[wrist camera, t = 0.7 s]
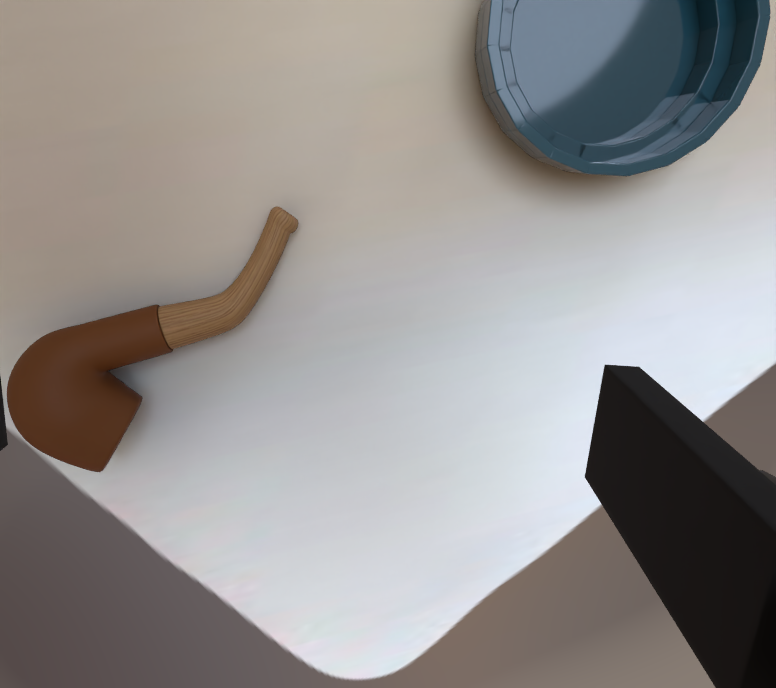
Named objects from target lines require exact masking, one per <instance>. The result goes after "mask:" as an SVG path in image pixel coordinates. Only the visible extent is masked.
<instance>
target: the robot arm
mask: <svg viewBox="0 0 776 688" xmlns="http://www.w3.org/2000/svg"><path fill="white" fill-rule="evenodd" d="M7 445H8V443H7V433H6V424H5V415H4V405H3V396H2V387H1V378H0V451H1V450H2V449H3V448H4V447H5V446H7ZM585 478H586V480H587V481H588V483H589V485H590V486H591V488H592V489H593V491H594V493H595V494H596V496H597V497H598V499H599V501H600V502H601V504H602V505H603V507H604V509H605V510H606V512H607V513H608V515H609V517H610V518H611V520H612V522H613V523H614V525H615V526H616V528H617V529H618V531H619V533H620V534H621V536H622V538H623V539H624V541H625V542H626V544H627V546H628V547H629V549H630V550H631V552H632V553H633V555H634V557H635V558H636V560H637V562H638V563H639V564H640V567H641V568H642V570H643V571H644V573H645V574H646V576H647V578H648V579H649V581H650V583H651V584H652V586H653V587H654V589H655V590H656V592H657V594H658V595H659V597H660V599H661V600H662V602H663V604H664V605H665V607H666V608H667V610H668V611H669V613H670V615H671V616H672V618H673V620H674V621H675V622H676V624H677V626H678V628H679V629H680V631H681V632H682V634H683V636H684V637H685V639H686V641H687V642H688V644H689V645H690V647H691V649H692V650H693V652H694V653H695V655H696V657H697V658H698V660H699V661H700V663H701V665H702V666H703V668H704V670H705V671H706V673H707V674H708V676H709V678H710V679H711V681H712V682H713V684H714V686H715V687H716V688H776V477H775V476H773V475H771V474H769V473H767V472H765V471H763V470H758V469H757V468H756V467H755V466H753V465H752V464H751V463H750V462H748V460H746V459H745V458H744V457H743V456H742V455H740V454H739V453H738V452H737V451H736V450H735V449H734V448H733V447H731V446H730V445H729V444H728V443H727V442H726V441H724V440H723V439H722V438H721V437H720V436H718V435H717V434H716V433H715V432H714V431H713V430H712V429H710V428H709V427H708V426H707V425H706V424H705V423H704V422H702V421H701V420H700V419H699V418H698V417H697V416H695V415H694V414H693V413H692V412H691V411H690V410H688V409H687V408H686V407H685V406H684V405H683V404H681V403H680V402H679V401H678V400H677V399H676V398H675V397H673V396H672V395H671V394H670V393H669V392H668V391H666V390H665V389H664V388H663V387H662V386H661V385H659V384H658V383H657V382H656V381H655V380H654V379H652V378H651V377H650V376H649V375H648V374H647V373H646V372H644V371H643V370H642V369H641V368H640V367H633V366H617V365H605V366H604V372H603V378H602V383H601V389H600V394H599V400H598V406H597V411H596V417H595V423H594V428H593V434H592V439H591V445H590V451H589V456H588V462H587V467H586V473H585Z"/></svg>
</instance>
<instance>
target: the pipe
mask: <svg viewBox="0 0 776 688" xmlns="http://www.w3.org/2000/svg"><path fill="white" fill-rule="evenodd" d="M297 227H298V220H297V219H296V218H294V217H293V216H292V215H290V214H289V213H288V212H286V211H285V210H283V209H282V208H280V207H274V208H273V209H272V210H271V211H270V214H269V217H268V220H267V223H266V225H265V227H264V230H263V232H262V234H261V237H260V239H259V241H258V243H257V245H256V247H255V250H254V252H253V253H252V255H251V257H250V259H249V261H248V263H247V264H246V266H245V267H244V269H243V271H242V272H241V273H240V275H239V276H238V278H237V279H236V280H235V281H234V282H233V284H232V285H231V286H230V287H229V288H227V289H226V290H225V291H224V292H222V293H221V294H218V295H216V296H212V297H208V298H203V299H198V300H193V301H188V302H182V303H176V304H170V305H165V306H159V305H153V306H149V307H145V308H141V309H137V310H134V311H130V312H126V313H122V314H118V315H115V316H111V317H107V318H103V319H99V320H96V321H92V322H88V323H84V324H80V325H76V326H72V327H67V328H63V329H60V330H57V331H54V332H51V333H49V334H47V335H45V336H43V337H41V338H40V339H38V340H37V341H36V342H34V343H33V344H32V345H31V346H30V347H29V348H28V349H27V350H26V351H25V352H24V353H23V354H22V356H21V357H20V358H19V360H18V361H17V363H16V364H15V366H14V368H13V370H12V372H11V375H10V377H9V381H8V386H7V403H8V408H9V412H10V415H11V418H12V420H13V423H14V425H15V426H16V428H17V430H18V431H19V433H20V434H21V435H22V436H23V438H24V439H25V440H26V441H27V442H29V443H30V444H31V445H32V446H34V447H35V448H37V449H38V450H40V451H41V452H43V453H45V454H47V455H49V456H51V457H53V458H55V459H58V460H60V461H63V462H65V463H68V464H71V465H74V466H77V467H80V468H83V469H86V470H90V471H94V472H101V471H103V470H104V468H105V467H106V465H107V463H108V462H109V460H110V458H111V457H112V455H113V453H114V451H115V450H116V448H117V446H118V444H119V443H120V441H121V439H122V437H123V435H124V434H125V432H126V430H127V428H128V426H129V425H130V423H131V421H132V419H133V417H134V416H135V414H136V412H137V410H138V408H139V406H140V404H141V402H142V397H141V396H140V395H139V394H137V393H136V392H135V391H133V390H132V389H130V388H129V387H128V386H126V385H125V384H124V383H123V382H121V381H120V380H119V379H117V378H116V377H115V376H113V375H112V374H111V373H110V372H109V371H108V370H111V369H115V368H118V367H122V366H125V365H129V364H132V363H136V362H139V361H143V360H146V359H150V358H153V357H157V356H160V355H164V354H167V353H170V352H172V351H173V349H175V348H179V347H182V346H185V345H188V344H192V343H195V342H198V341H201V340H204V339H207V338H210V337H213V336H216V335H219V334H222V333H224V332H227V331H229V330H231V329H233V328H234V327H236V326H237V325H239V324H240V323H241V322H242V321H243V320H244V319H245V318H246V316H247V315H248V314H249V313H250V311H251V310H252V308H253V307H254V305H255V304H256V302H257V301H258V299H259V297H260V296H261V294H262V292H263V290H264V289H265V287H266V285H267V283H268V281H269V280H270V278H271V276H272V274H273V272H274V270H275V268H276V266H277V264H278V261H279V259H280V257H281V255H282V253H283V250H284V248H285V246H286V243H287V241H288V238H289V236H290V233H293V232H294V231H295V230H296V229H297Z"/></svg>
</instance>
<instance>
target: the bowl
mask: <svg viewBox="0 0 776 688" xmlns="http://www.w3.org/2000/svg"><path fill="white" fill-rule="evenodd" d="M769 15H770V3H769V0H483V3H482V5H481V8H480V10H479V14H478V26H477V37H476V49H475V59H476V64H477V69H478V74H479V78H480V83H481V88H482V93H483V96H484V99H485V101H486V103H487V104H488V106H489V108H490V110H491V111H492V113H493V115H494V117H495V119H496V120H497V122H498V124H499V126H500V127H501V129H502V131H503V132H504V133H505V134H506V135H507V136H508V137H509V138H510V139H512V140H513V141H514V142H515V143H516V144H517V145H518V146H519V147H520V148H522V149H523V150H524V151H525V152H526V153H527V154H528V155H529V156H531V157H532V158H535V159H537V160H539V161H542V162H544V163H547V164H549V165H552V166H554V167H556V168H559V169H561V170H564V171H568V172H576V173H583V174H595V175H613V176H631V175H635V174H639V173H642V172H646V171H650V170H654V169H657V168H661V167H665V166H668V165H670V164H672V163H674V162H675V161H677V160H678V159H680V158H682V157H683V156H685V155H686V154H688V153H690V152H691V151H693V150H694V149H696V148H698V147H699V146H701V145H702V144H704V143H706V142H707V141H708V140H709V139H710V138H711V137H712V136H713V135H714V133H715V132H716V131H717V130H718V129H719V128H720V127H721V126H722V125H723V124H724V122H725V121H726V120H727V119H728V118H729V117H730V116H731V115H732V114H733V113H734V111H735V110H736V109H737V108H738V106H739V105H740V104H741V102H742V100H743V98H744V96H745V94H746V92H747V90H748V88H749V86H750V84H751V82H752V80H753V78H754V76H755V74H756V72H757V70H758V68H759V66H760V63H761V60H762V55H763V50H764V45H765V40H766V35H767V30H768V25H769V20H770V16H769Z"/></svg>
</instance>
